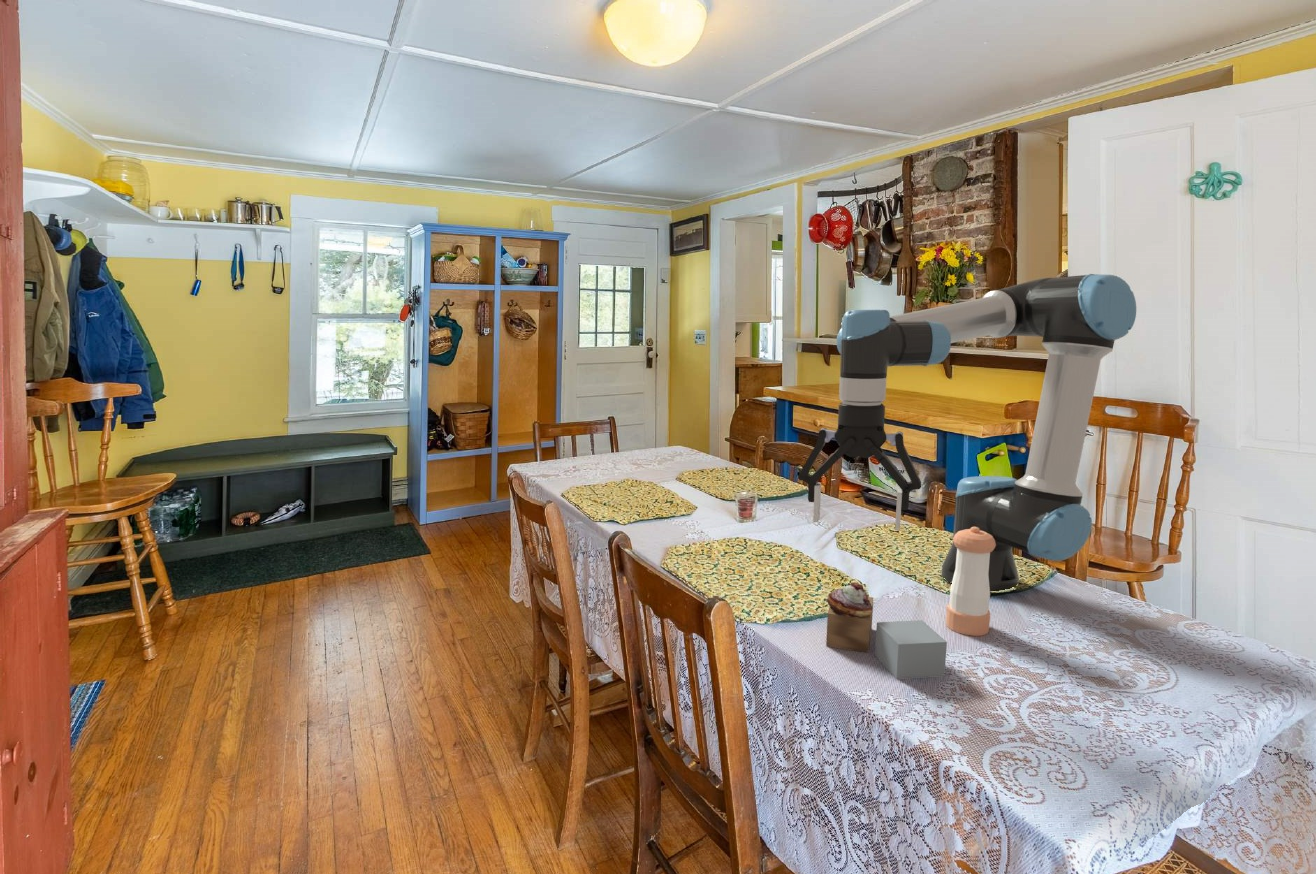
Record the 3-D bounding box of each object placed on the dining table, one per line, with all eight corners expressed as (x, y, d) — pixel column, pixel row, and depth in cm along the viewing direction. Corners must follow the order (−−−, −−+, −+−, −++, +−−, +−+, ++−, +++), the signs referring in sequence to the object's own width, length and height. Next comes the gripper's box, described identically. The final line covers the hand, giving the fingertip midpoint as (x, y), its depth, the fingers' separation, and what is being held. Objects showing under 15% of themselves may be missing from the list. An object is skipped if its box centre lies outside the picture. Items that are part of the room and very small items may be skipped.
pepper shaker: (948, 615, 131) (956, 519, 127) (990, 623, 127) (999, 525, 124) (943, 630, 124) (950, 529, 121) (987, 639, 121) (996, 535, 118)
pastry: (880, 617, 116) (882, 589, 115) (838, 620, 114) (840, 592, 114) (858, 598, 124) (860, 572, 123) (819, 601, 122) (820, 575, 121)
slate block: (919, 653, 116) (922, 620, 115) (944, 677, 108) (946, 641, 107) (874, 655, 115) (876, 622, 114) (896, 679, 107) (898, 644, 106)
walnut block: (871, 628, 125) (873, 597, 124) (868, 652, 116) (869, 619, 115) (832, 622, 127) (834, 592, 126) (826, 645, 118) (827, 613, 117)
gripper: (941, 402, 114) (933, 524, 117) (791, 397, 122) (788, 511, 126) (942, 408, 107) (934, 537, 110) (783, 402, 115) (780, 522, 119)
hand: (856, 524), depth 118 cm, fingers open, 13 cm apart
